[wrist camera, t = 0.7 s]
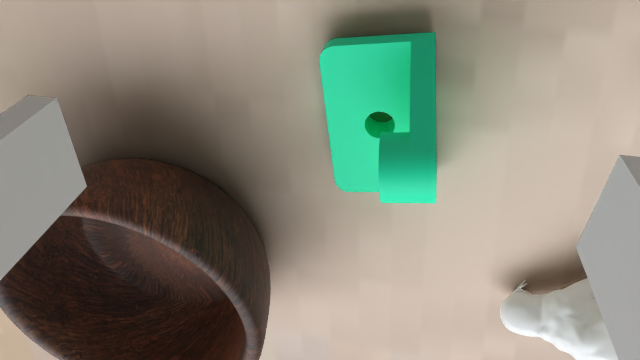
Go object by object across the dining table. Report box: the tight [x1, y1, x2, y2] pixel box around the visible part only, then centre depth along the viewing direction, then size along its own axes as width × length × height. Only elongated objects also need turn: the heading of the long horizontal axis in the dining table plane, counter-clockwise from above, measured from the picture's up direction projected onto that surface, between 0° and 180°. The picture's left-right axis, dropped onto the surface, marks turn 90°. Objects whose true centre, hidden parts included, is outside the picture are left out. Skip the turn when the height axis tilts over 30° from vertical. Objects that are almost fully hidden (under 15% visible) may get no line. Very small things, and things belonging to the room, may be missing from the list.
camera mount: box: [319, 32, 437, 203], centre depth 32 cm, size 12×8×10 cm, turn 7°
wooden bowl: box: [0, 159, 271, 360], centre depth 45 cm, size 25×25×10 cm
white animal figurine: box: [500, 278, 618, 360], centre depth 40 cm, size 6×8×12 cm
